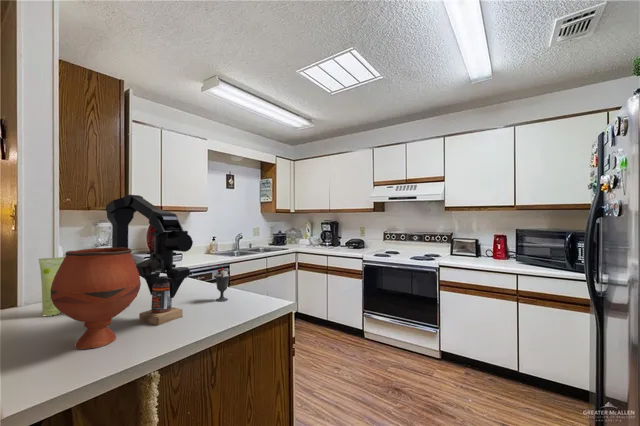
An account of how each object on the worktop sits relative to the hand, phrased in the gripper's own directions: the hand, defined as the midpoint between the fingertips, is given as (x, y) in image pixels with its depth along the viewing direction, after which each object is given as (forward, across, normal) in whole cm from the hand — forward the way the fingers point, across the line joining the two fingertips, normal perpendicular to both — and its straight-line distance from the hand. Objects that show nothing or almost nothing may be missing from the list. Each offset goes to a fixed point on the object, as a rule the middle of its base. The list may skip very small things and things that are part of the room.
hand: (162, 296), depth 94 cm
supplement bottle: (+5, 0, 0) cm, 5 cm away
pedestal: (+8, 0, 0) cm, 8 cm away
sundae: (+8, +3, +26) cm, 27 cm away
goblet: (+8, 0, -20) cm, 21 cm away
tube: (+8, -36, -13) cm, 40 cm away
